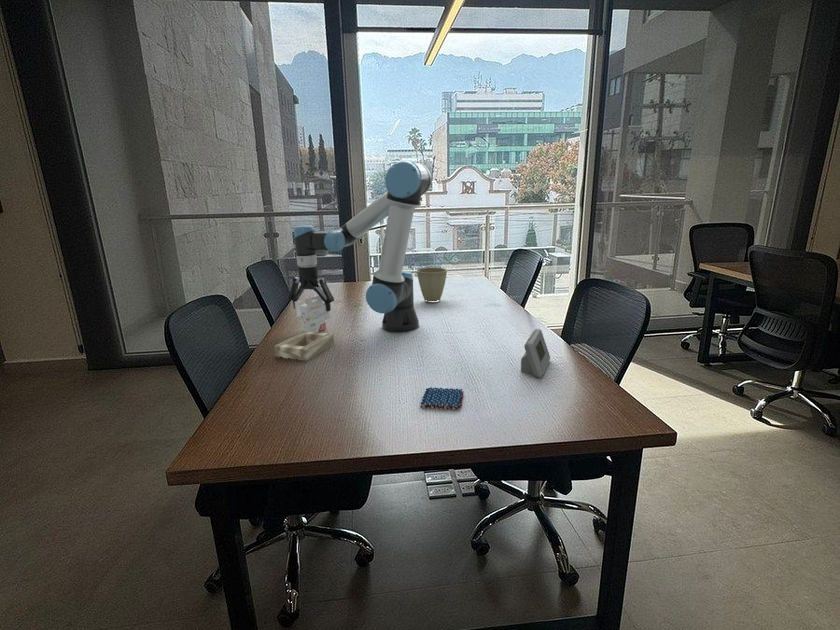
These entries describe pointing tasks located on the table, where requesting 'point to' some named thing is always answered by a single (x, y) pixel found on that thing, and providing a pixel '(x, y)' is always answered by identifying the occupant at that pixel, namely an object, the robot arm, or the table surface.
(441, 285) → the plant pot
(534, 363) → the digital clock
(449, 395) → the woven mat
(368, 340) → the table surface
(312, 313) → the ink cartridge box
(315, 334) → the beige flat rectangular frame
